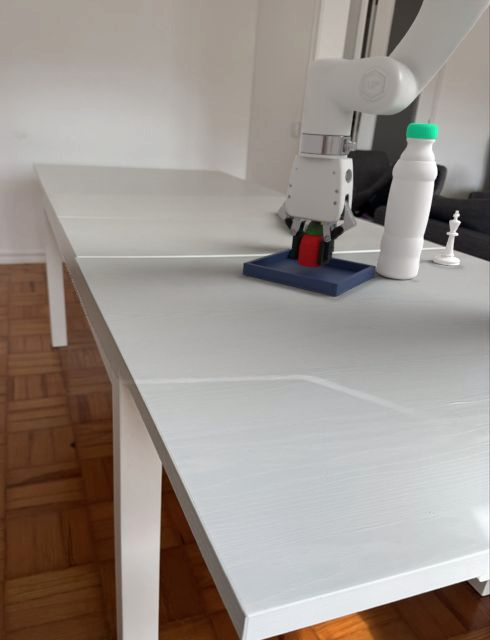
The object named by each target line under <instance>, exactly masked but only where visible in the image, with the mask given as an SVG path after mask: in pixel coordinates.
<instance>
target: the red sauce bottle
mask: <svg viewBox="0 0 490 640" xmlns="http://www.w3.org/2000/svg"><path fill="white" fill-rule="evenodd" d="M305 234H306V235H304V236H303V238H302V240H301V243H300V246H299V255H298V264H299V265H302V266H306V267H320V266H322V265H318V254H319V246H320V242H321V241H323V238H322V236H321V234H322V231H321V230H319V229H306V233H305Z"/></svg>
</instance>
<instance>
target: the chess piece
mask: <svg viewBox="0 0 490 640" xmlns="http://www.w3.org/2000/svg"><path fill="white" fill-rule="evenodd" d="M459 212H460V211H459V210H455V213H453V216H452V217H453V219H450V220H449V231H447V232H446V235H447V236H448V239H447V242H446V245H445V247H444V251H443V252H441V254H440V255H436V256H434V257H433V260H432V261H433V262H434V263H435V264H438V265H442V266H451V267H452V266H453V267H455V266H459V265H460V264H461V263H460V262H461V259H459V258H458V257H456V256H455V254H454V246H455V245H454V243H455V237H458V236H459V233H458V232H457V230H458V228H459V226H460V225H461V223H462V222H461V221H460V220H459V219H458V218H460V213H459Z"/></svg>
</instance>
